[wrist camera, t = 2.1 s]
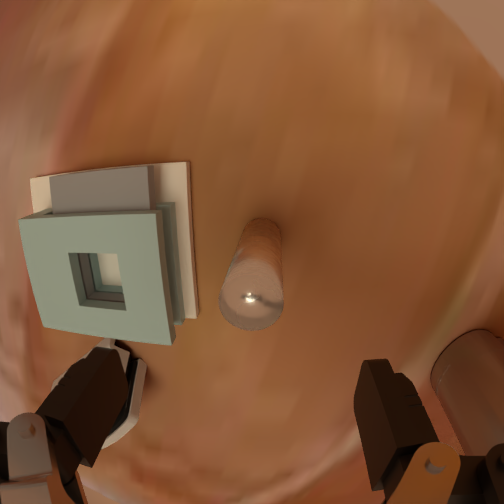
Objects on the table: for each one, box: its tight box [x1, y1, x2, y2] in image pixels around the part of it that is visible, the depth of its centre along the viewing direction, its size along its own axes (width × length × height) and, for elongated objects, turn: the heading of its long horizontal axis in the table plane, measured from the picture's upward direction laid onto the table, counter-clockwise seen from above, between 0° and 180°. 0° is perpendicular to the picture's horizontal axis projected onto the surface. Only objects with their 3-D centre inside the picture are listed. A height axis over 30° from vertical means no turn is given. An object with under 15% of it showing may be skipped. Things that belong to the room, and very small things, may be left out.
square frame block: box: [18, 161, 199, 345], centre depth 24 cm, size 16×13×5 cm
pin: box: [219, 218, 283, 331], centre depth 20 cm, size 3×3×11 cm
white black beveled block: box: [51, 338, 147, 449], centre depth 28 cm, size 17×5×10 cm, turn 129°
